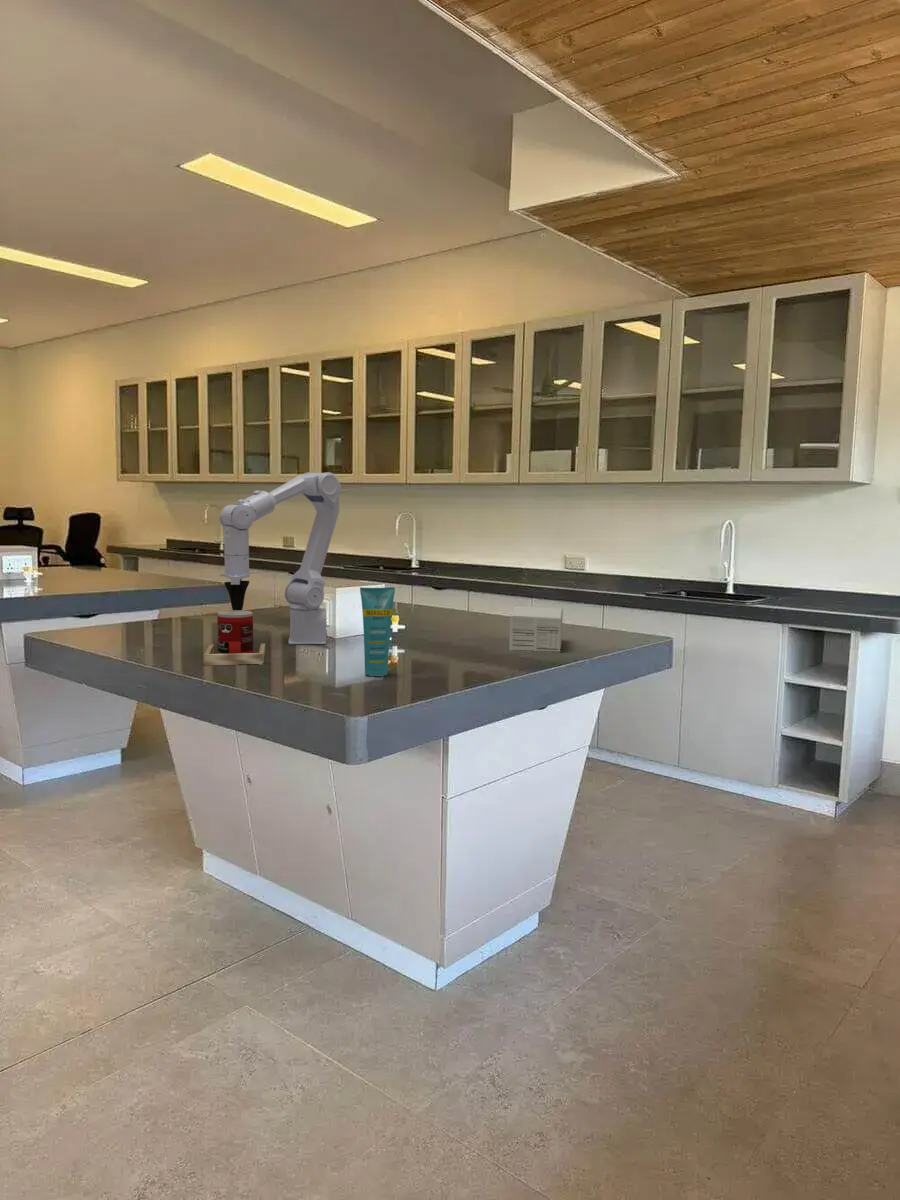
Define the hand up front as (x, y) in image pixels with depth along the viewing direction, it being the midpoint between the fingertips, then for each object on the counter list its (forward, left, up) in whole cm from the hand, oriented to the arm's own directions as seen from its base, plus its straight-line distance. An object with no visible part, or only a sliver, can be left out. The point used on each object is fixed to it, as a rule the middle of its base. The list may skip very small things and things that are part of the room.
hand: (237, 610), depth 206 cm
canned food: (0, +10, -10) cm, 14 cm away
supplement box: (-76, -1, -10) cm, 77 cm away
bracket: (0, +9, -10) cm, 14 cm away
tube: (-31, +29, -10) cm, 44 cm away
